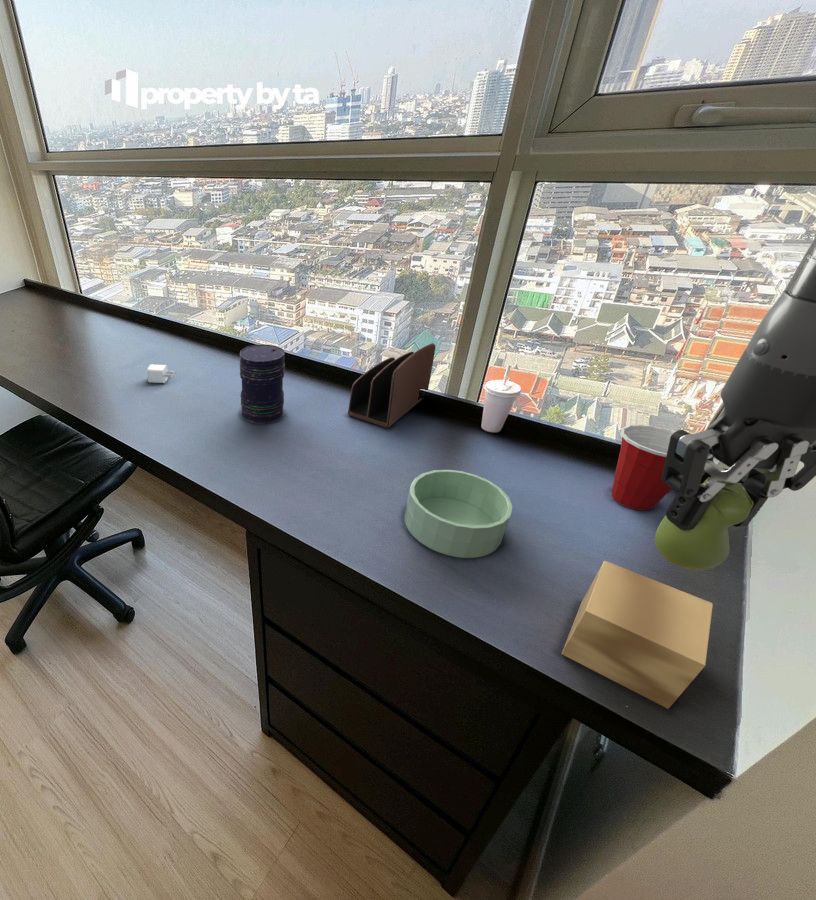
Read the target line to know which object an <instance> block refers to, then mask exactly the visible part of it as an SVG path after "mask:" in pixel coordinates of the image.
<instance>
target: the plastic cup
mask: <svg viewBox="0 0 816 900" xmlns="http://www.w3.org/2000/svg"><path fill="white" fill-rule="evenodd" d="M676 431H677V430H673V429H670V428H666V427H661V426H657V425H650V424H649V425H648V424H640V423H639V424H638V423H637V424H627V425H625V426H622V427H621V429H620V436H621V443H620V451H619V455H618V460H617V464H616V467H615V472H614V478H613V483H612V487H611V497H612V499H613V500H614V501H616V502H617V503H618V504H620V505H621V506H624V507H626V508H628V509H632V510H635V511H650V510H652V509H653V508H654V507H656V506H657V505H659V503H660V502H661V501H662V500H663V498H665V496H666V495H668V494H670V492H671V491H672V490H674V489H673V488H671V487H670V486H669V485H667V484H666V483H664V482H663V481H662V480H661V478H662V474H663V469H664V465H665V460H666V456H667V451H668V446H669V442H670V437H671V435H672V434H673V433H674V432H676ZM680 475H681V476H682V474H680Z"/></svg>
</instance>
